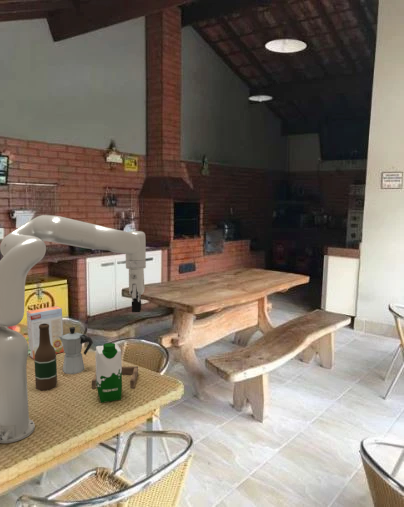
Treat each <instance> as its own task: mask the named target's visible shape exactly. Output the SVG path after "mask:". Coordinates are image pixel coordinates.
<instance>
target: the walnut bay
mask: <svg viewBox="0 0 404 507" xmlns="http://www.w3.org/2000/svg"><path fill="white" fill-rule="evenodd" d="M138 375H139V367H138V366H136V365H135V366H122V376H131V377H130V381H129V385H130V387H129V388H130V389H135V385H136V381H137V378H138ZM91 389H97V385H96V373H95V374H94V376H93V378H92V380H91Z"/></svg>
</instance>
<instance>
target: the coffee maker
mask: <svg viewBox="0 0 404 507" xmlns="http://www.w3.org/2000/svg"><path fill="white" fill-rule="evenodd" d="M58 337H59V338H60V339H61V341H62V343H63V349H64V352H63V353H64V358H63V364H62V365H63V366H62V372H63V373H64V374H67V375H76V374H80V373H82V372H83V371H85V364H84V360H83V358H84V357H83V354H84V355H87V353H88V352H89V350H90V348H91V347H92V345H93V343H94V342H93V340H92V338H91V337H90V336H87V335H86V334H83V333H80V332H76V327H74V326H71V327H69V333H65V334H63V336H58ZM85 343H88V344H87V346H86V348H85V350H84V352H83V354H82V351H83V350H82V349H83V344H85Z"/></svg>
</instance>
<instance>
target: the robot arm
mask: <svg viewBox="0 0 404 507" xmlns="http://www.w3.org/2000/svg"><path fill="white" fill-rule="evenodd" d="M45 242H50V243H54V244H59V245H60V244H61V245H67V246H72V247H76V248H77V247H78V248H83V249H88V250H89V249H90V250H96V251H97V250H98V251H99V250H101V251H102V250H103V251H109V252H112V253H118V254H124V255H125V269H127V270H128V293H129V295H130V296H131V312H132V313H140V312H141V311H142V300H141V295H144V292H145V270H144V269H146V268H147V267H146V266H147V261H146V258H147V257H146V256H147V254H146V253H147V252H146V251H147V249H146V244H147V242H146V233H145V232H144V231H142V230H139V231H138V230H135V231H133V230H132V231H131V230H130V231H125V230H121V229H116V228H111V227H106V226H103V225H99V224H94V223H91V222H85V221H82V220H76V219H73V218H68V217H64V216H60V215H49V214H47V215H46V214H42V215H41V214H40V215H38V216H36V217H34V218H33V219H31V220H29V221H28V222H26V223H24V224H23V225H21V226H20V227H18V228H16V229H14V230H13V231H11V232H10V233H9V234H7V235H5V237H3V239H2V241H1V242H0V253H1V255H2V258H1V259H0V444H9V443H14V442H18V441H21V440H23V439H26V438H27V437H29V436H30V435H31V434H32V433H33V432H34V431H35V426H36V424H35V422H34V420H32V419H30V418H29V417H30V416H29V413H30V412H29V396H28V394H29V393H28V392H29V391H28V378H27V374H28V373H27V364H28V362H27V361H28V357H29V342H28V340H27V339H26V337H25V336H24V335H23V334H21V333H20V332H19V331H17V330H14V329H11V328H9V327H15V326H17V325H19V324H20V323H21V321H22V320H24V319H23V318H24V315H25V299H26V298H25V297H26V296H25V295H26V290H25V289H26V288H25V287H26V280H27V275H28V274H29V272H30V270H31V269H32V268H33V267H34V266H36V265H37V264H38V263H40V262H41V261H42V259H43V258H44V257H45V254H46V253H47V247H46V246H47V245H46V243H45Z"/></svg>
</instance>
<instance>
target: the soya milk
mask: <svg viewBox="0 0 404 507" xmlns="http://www.w3.org/2000/svg"><path fill="white" fill-rule="evenodd" d="M94 357H95V374H96V385H97V386H96V389H97V394H98V398H99V402H100V403H108V402H113V401H121V400H122V391H123V375H122V367H123V365H122V363H123V362H122V350H121V348H120V346H119V345H118V344H117V343H114V342H107V343H104V344H103V345H97V346H95V356H94Z"/></svg>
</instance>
